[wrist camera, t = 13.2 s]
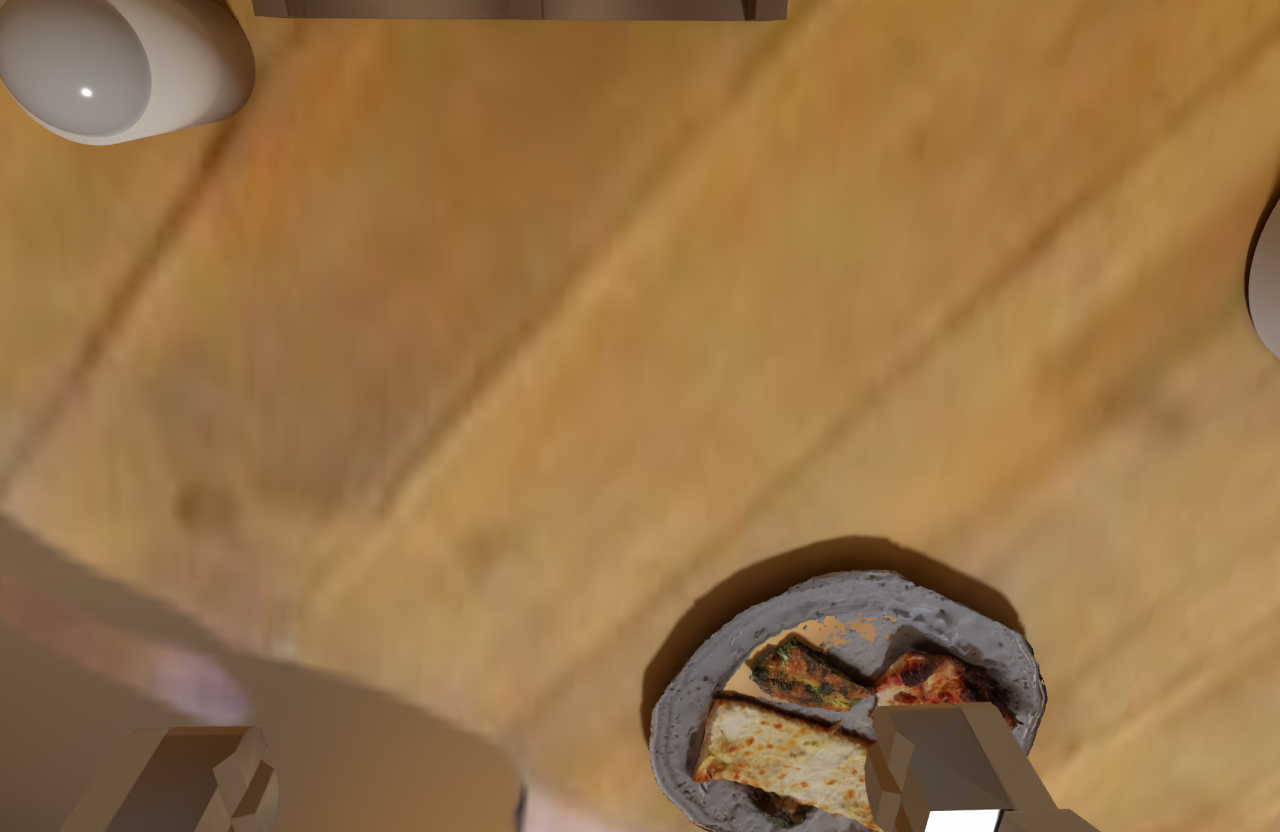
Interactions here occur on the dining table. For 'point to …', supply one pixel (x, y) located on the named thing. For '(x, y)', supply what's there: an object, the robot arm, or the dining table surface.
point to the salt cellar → (123, 65)
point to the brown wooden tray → (528, 9)
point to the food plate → (826, 701)
